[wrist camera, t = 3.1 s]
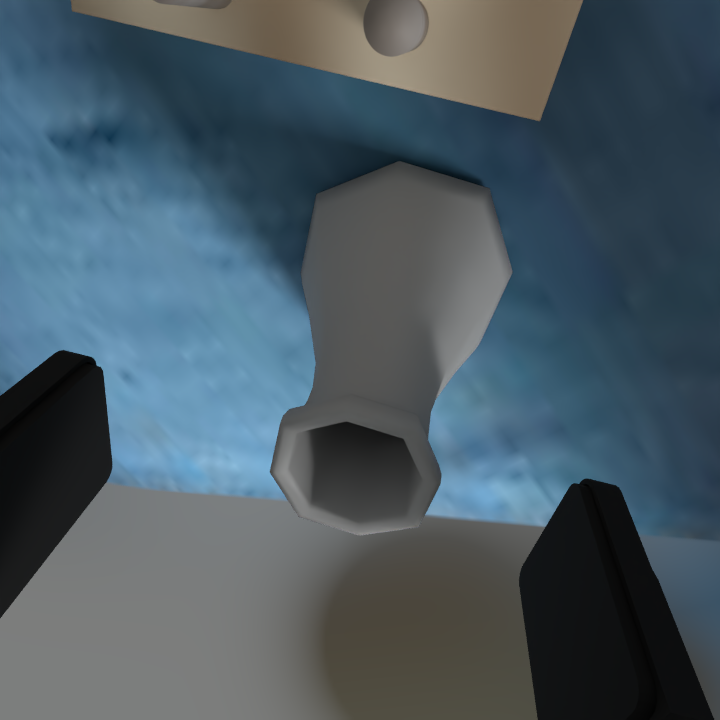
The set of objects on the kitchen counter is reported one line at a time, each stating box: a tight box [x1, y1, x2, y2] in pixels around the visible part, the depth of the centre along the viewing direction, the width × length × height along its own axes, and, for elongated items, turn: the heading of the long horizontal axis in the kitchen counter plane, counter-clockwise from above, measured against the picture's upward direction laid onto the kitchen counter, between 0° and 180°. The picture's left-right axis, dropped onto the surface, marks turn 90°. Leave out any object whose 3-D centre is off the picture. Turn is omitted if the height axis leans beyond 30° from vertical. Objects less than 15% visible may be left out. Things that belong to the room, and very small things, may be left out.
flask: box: [270, 161, 512, 535], centre depth 13 cm, size 7×7×10 cm
